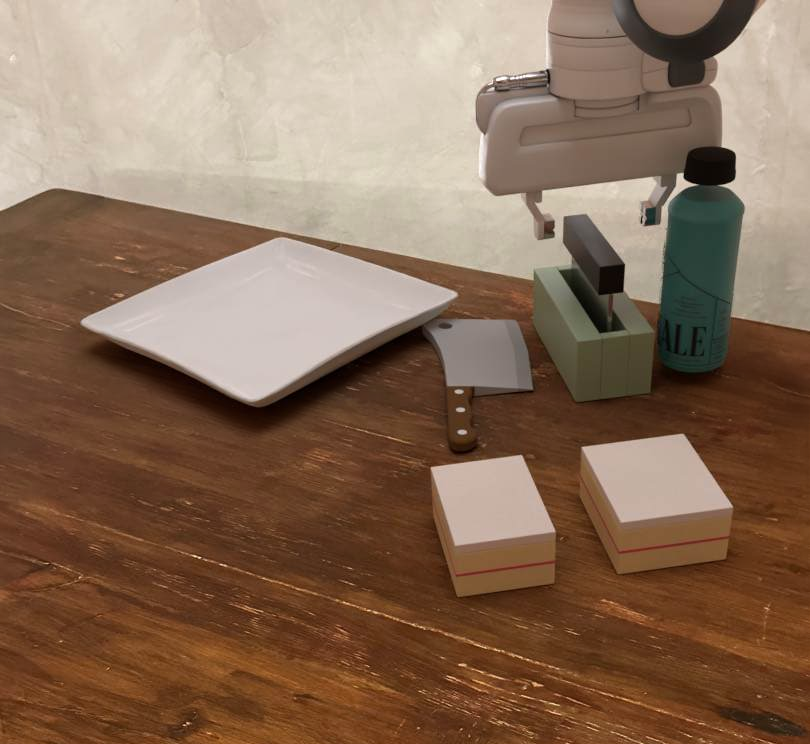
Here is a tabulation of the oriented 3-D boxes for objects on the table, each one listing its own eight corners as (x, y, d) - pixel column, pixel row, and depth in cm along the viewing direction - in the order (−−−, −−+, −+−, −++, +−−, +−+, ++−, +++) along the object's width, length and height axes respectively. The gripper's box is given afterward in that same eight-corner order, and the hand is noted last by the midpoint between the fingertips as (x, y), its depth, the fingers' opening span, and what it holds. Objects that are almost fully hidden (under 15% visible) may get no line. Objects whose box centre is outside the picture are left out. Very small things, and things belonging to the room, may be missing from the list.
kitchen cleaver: (546, 441, 93) (425, 441, 93) (545, 452, 93) (425, 452, 93) (522, 315, 112) (422, 315, 112) (521, 324, 113) (422, 325, 113)
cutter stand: (599, 317, 112) (602, 260, 109) (650, 393, 100) (655, 331, 96) (532, 325, 112) (533, 268, 108) (575, 402, 99) (577, 341, 96)
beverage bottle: (721, 354, 105) (748, 136, 93) (730, 389, 99) (759, 163, 87) (650, 354, 105) (667, 138, 93) (655, 389, 100) (674, 165, 88)
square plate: (464, 324, 113) (463, 288, 110) (258, 438, 97) (251, 399, 95) (285, 261, 128) (280, 228, 126) (82, 351, 113) (73, 315, 111)
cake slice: (522, 504, 87) (522, 454, 84) (555, 584, 79) (556, 531, 76) (432, 516, 87) (430, 466, 84) (456, 598, 79) (454, 545, 76)
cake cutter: (582, 328, 111) (586, 213, 104) (618, 386, 101) (625, 264, 94) (560, 330, 110) (563, 216, 104) (594, 389, 101) (599, 266, 94)
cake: (678, 483, 88) (683, 432, 86) (726, 559, 80) (734, 506, 77) (578, 496, 88) (580, 446, 85) (617, 575, 80) (620, 522, 77)
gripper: (482, 89, 87) (487, 259, 95) (737, 58, 88) (721, 229, 96) (466, 69, 92) (473, 232, 100) (708, 40, 93) (695, 204, 102)
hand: (596, 230), depth 98 cm, fingers open, 8 cm apart
